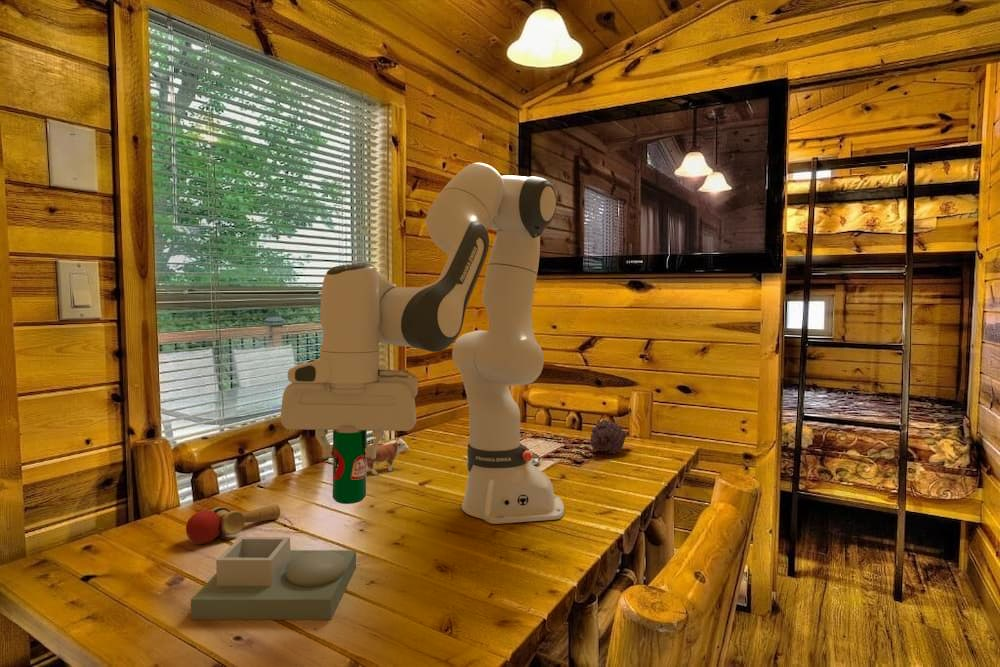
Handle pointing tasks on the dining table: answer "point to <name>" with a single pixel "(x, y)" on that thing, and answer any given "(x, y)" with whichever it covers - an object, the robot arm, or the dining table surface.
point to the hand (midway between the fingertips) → (349, 457)
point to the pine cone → (608, 437)
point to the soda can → (349, 464)
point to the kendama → (225, 522)
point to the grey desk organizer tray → (274, 582)
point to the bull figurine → (386, 454)
